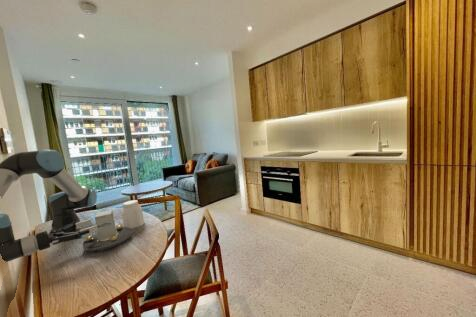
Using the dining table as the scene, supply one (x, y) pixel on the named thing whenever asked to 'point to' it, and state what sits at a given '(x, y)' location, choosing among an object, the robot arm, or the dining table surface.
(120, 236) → the base
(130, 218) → the jar
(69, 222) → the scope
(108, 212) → the supplement box
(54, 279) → the dining table surface
